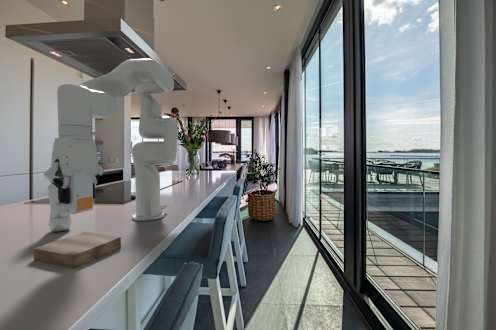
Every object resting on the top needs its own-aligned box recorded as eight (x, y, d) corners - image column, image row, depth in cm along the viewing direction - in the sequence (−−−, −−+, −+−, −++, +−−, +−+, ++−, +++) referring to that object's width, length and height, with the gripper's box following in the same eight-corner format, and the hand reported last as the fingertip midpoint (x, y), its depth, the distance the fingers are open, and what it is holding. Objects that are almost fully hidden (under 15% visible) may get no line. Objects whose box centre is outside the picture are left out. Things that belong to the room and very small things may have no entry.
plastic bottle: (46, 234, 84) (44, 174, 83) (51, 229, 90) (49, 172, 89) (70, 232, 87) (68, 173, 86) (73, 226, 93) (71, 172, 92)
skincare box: (75, 214, 65) (74, 167, 64) (61, 213, 66) (59, 167, 65) (94, 209, 71) (93, 166, 70) (81, 208, 72) (80, 166, 71)
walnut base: (85, 241, 78) (84, 231, 78) (120, 247, 73) (120, 237, 73) (33, 259, 65) (33, 248, 65) (73, 268, 60) (72, 255, 60)
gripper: (94, 136, 77) (96, 195, 78) (29, 131, 60) (32, 206, 61) (114, 135, 74) (115, 196, 75) (51, 130, 58) (53, 208, 59)
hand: (78, 200), depth 68 cm, fingers closed on skincare box, 6 cm apart
